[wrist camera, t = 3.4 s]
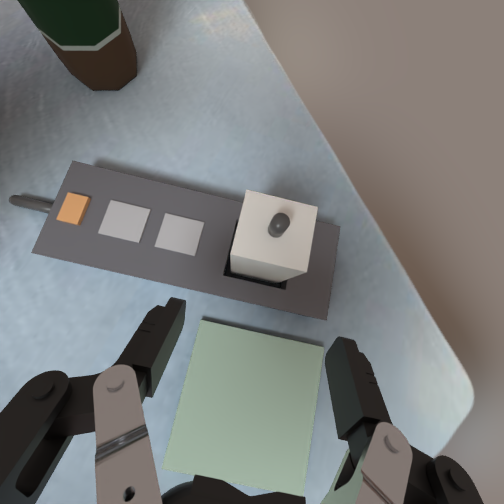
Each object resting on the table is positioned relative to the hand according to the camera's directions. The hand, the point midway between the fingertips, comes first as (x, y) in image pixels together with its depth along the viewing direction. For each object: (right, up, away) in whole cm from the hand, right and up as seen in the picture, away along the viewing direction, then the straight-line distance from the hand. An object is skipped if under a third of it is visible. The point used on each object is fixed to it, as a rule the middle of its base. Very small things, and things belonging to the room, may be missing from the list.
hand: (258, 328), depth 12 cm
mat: (-1, -10, +9) cm, 13 cm away
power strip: (-8, +5, +11) cm, 15 cm away
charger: (0, +3, +12) cm, 12 cm away
